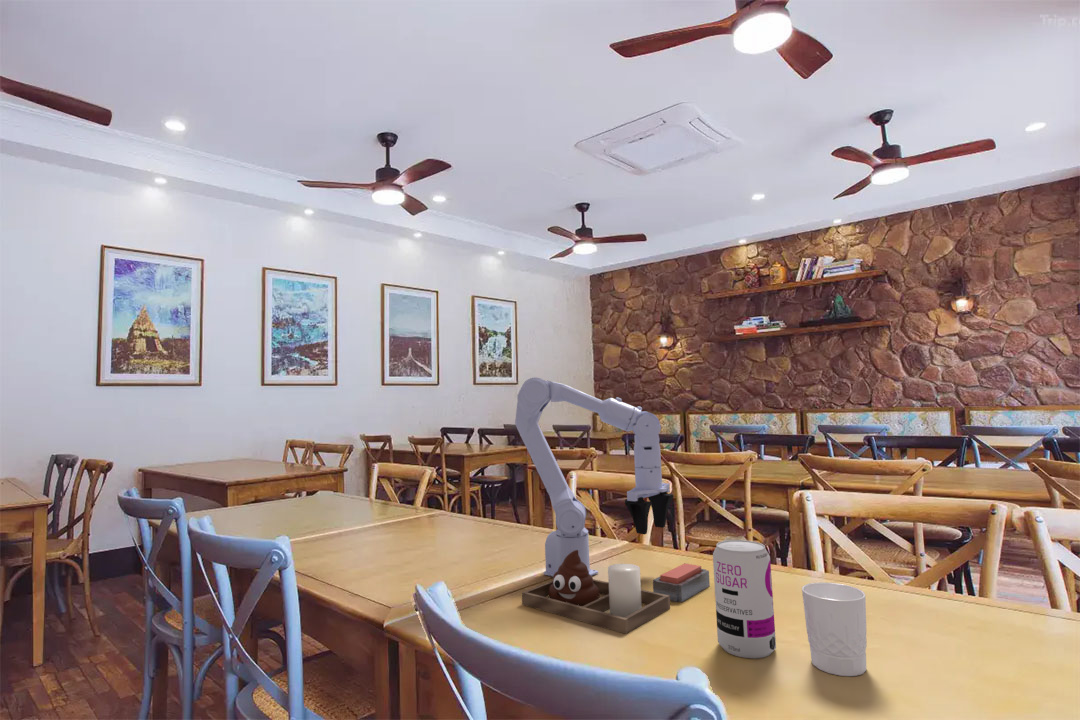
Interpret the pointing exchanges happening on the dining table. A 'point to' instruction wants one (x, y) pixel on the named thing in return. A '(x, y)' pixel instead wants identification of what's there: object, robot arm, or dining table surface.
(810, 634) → the white cup
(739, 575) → the supplement can
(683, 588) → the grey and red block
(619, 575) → the wax pillar
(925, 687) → the dining table surface
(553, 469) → the robot arm
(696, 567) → the bar
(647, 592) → the divided tray
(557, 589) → the poop emoji
